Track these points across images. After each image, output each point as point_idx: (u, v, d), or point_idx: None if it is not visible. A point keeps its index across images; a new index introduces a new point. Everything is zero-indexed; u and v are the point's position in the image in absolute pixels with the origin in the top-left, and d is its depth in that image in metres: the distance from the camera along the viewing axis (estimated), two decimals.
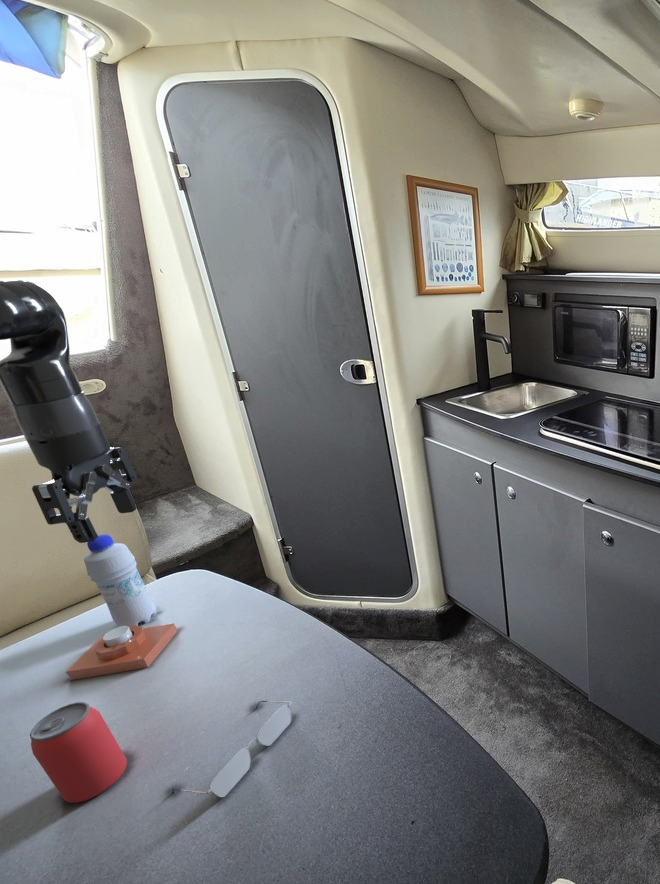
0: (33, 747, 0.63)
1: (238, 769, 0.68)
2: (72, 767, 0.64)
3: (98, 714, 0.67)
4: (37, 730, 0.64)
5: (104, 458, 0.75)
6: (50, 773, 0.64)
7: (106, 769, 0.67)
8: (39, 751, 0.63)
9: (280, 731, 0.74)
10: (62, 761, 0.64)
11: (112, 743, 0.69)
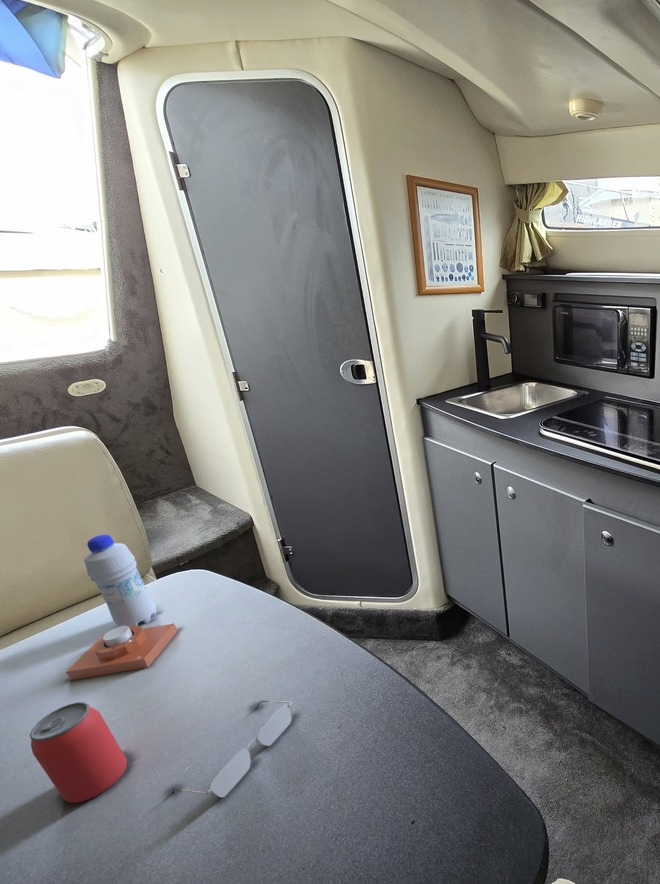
0: (33, 747, 0.63)
1: (238, 769, 0.68)
2: (72, 767, 0.64)
3: (98, 714, 0.67)
4: (37, 730, 0.64)
5: None
6: (50, 773, 0.64)
7: (106, 769, 0.67)
8: (39, 751, 0.63)
9: (280, 731, 0.74)
10: (62, 761, 0.64)
11: (112, 743, 0.69)
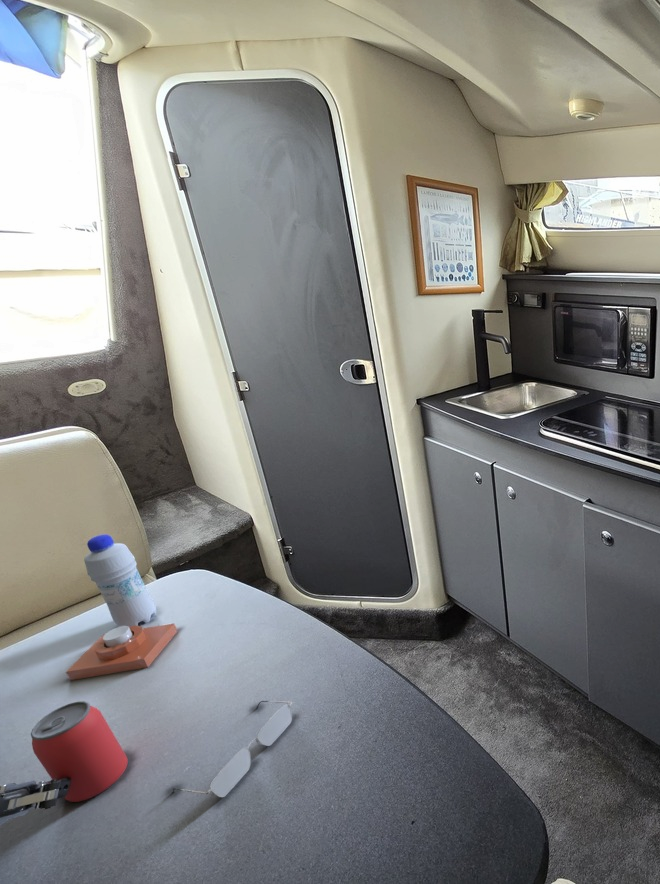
0: (34, 746, 0.63)
1: (238, 769, 0.68)
2: (73, 766, 0.64)
3: (99, 713, 0.68)
4: (38, 729, 0.64)
5: (0, 817, 0.54)
6: (51, 772, 0.64)
7: (108, 768, 0.68)
8: (41, 750, 0.63)
9: (280, 731, 0.74)
10: (63, 760, 0.64)
11: (113, 741, 0.69)
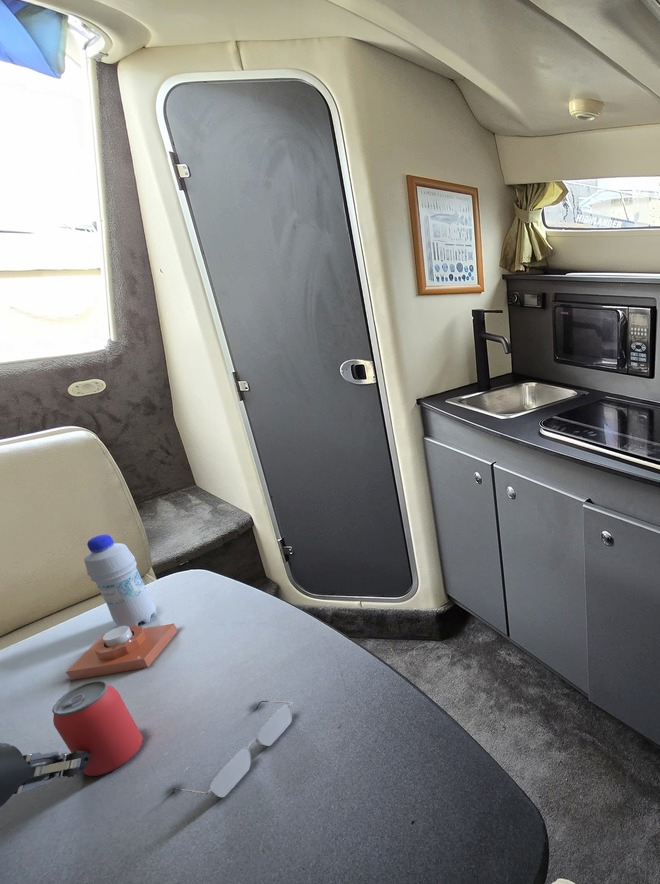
0: (56, 722, 0.66)
1: (238, 769, 0.68)
2: (93, 740, 0.68)
3: (116, 691, 0.71)
4: (59, 706, 0.67)
5: (27, 783, 0.57)
6: (72, 747, 0.67)
7: (125, 743, 0.71)
8: (63, 725, 0.66)
9: (280, 731, 0.74)
10: (84, 735, 0.67)
11: (129, 718, 0.72)
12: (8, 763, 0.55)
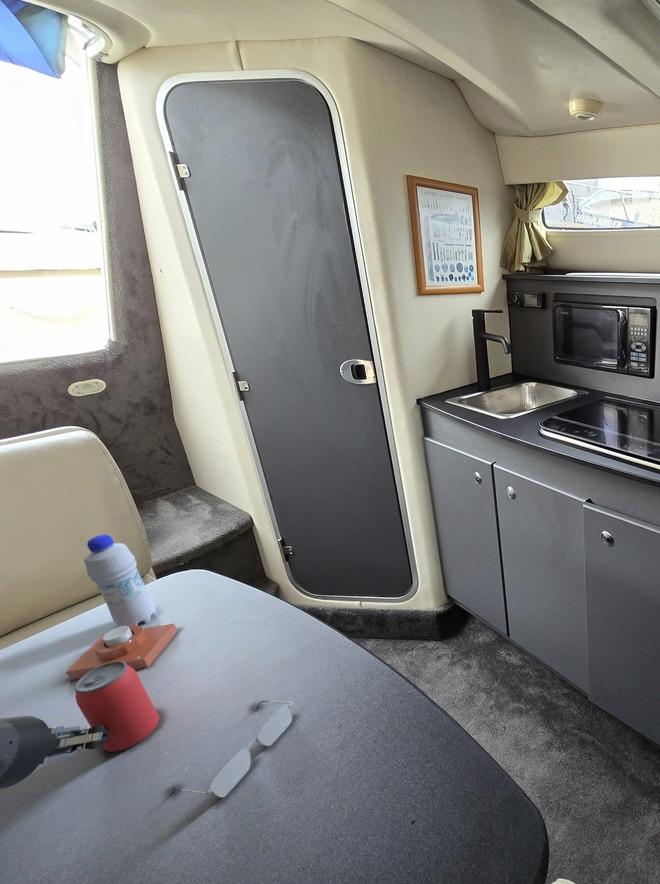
0: (77, 698, 0.69)
1: (238, 769, 0.68)
2: (111, 718, 0.71)
3: (134, 672, 0.74)
4: (81, 684, 0.71)
5: (52, 754, 0.61)
6: (92, 723, 0.71)
7: (141, 722, 0.74)
8: (83, 702, 0.69)
9: (280, 731, 0.74)
10: (103, 712, 0.70)
11: (146, 699, 0.75)
12: (36, 734, 0.58)
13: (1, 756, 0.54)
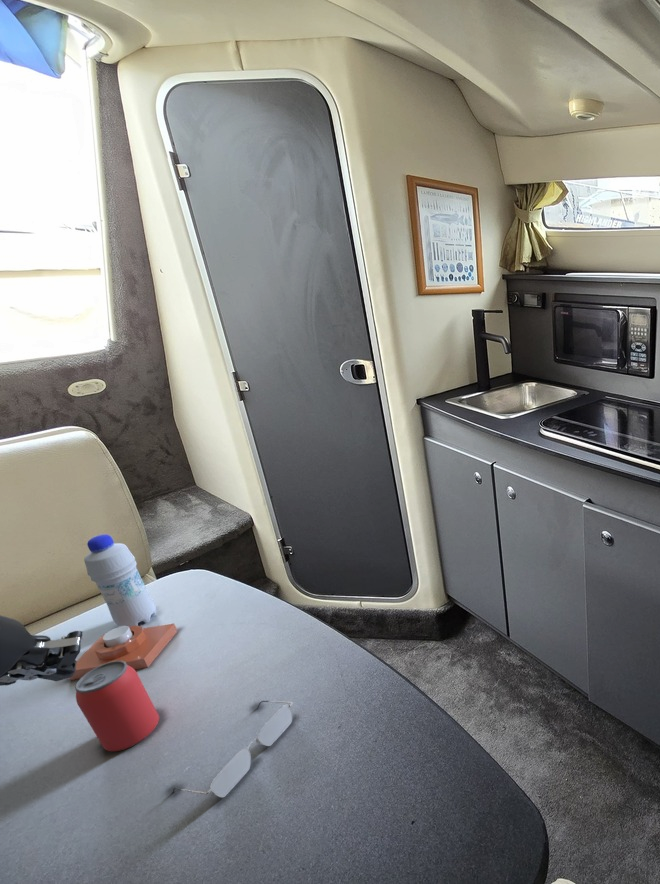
0: (78, 698, 0.69)
1: (238, 769, 0.68)
2: (111, 718, 0.71)
3: (134, 672, 0.74)
4: (81, 684, 0.71)
5: (28, 656, 0.56)
6: (92, 723, 0.71)
7: (141, 722, 0.74)
8: (84, 702, 0.69)
9: (281, 731, 0.74)
10: (103, 712, 0.70)
11: (147, 698, 0.75)
12: (13, 626, 0.55)
13: None
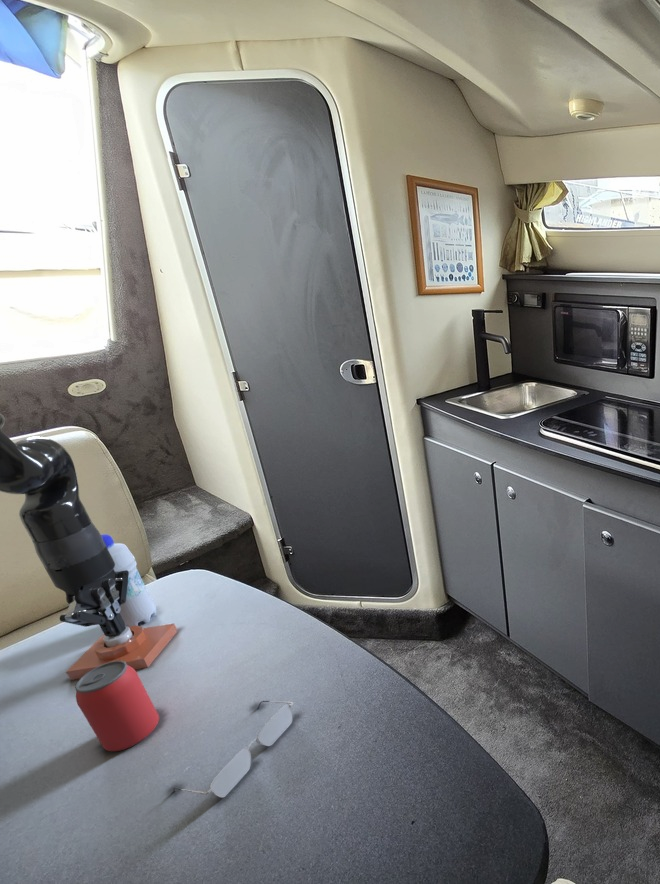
0: (78, 698, 0.69)
1: (238, 769, 0.68)
2: (111, 718, 0.71)
3: (134, 672, 0.74)
4: (81, 684, 0.71)
5: (109, 572, 0.88)
6: (92, 723, 0.71)
7: (141, 722, 0.74)
8: (84, 702, 0.69)
9: (281, 731, 0.74)
10: (103, 712, 0.70)
11: (147, 698, 0.75)
12: None
13: None
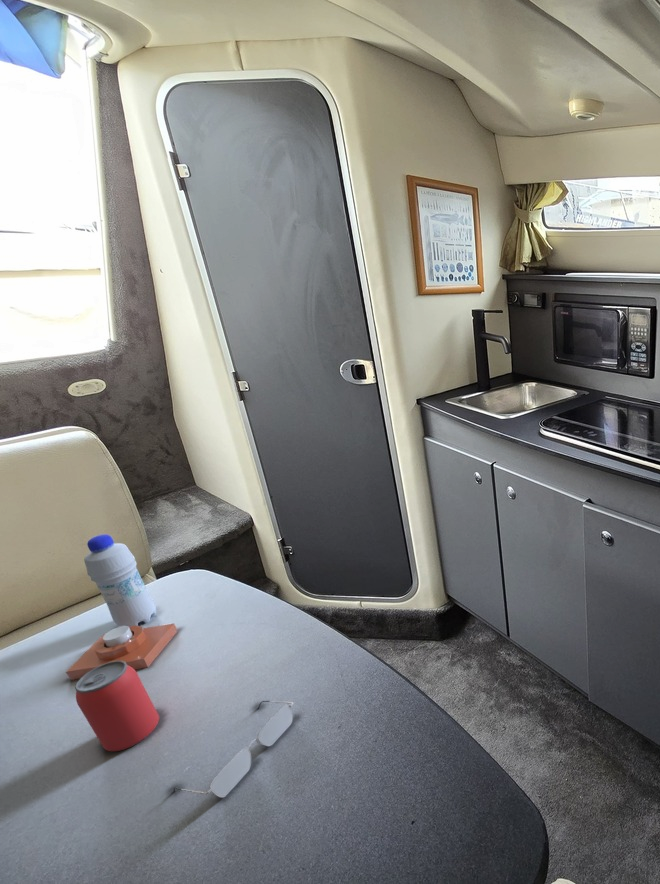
0: (78, 698, 0.69)
1: (238, 769, 0.68)
2: (111, 718, 0.71)
3: (134, 672, 0.74)
4: (81, 684, 0.71)
5: None
6: (92, 723, 0.71)
7: (141, 722, 0.74)
8: (84, 702, 0.69)
9: (281, 732, 0.74)
10: (103, 712, 0.70)
11: (147, 698, 0.75)
12: None
13: None
